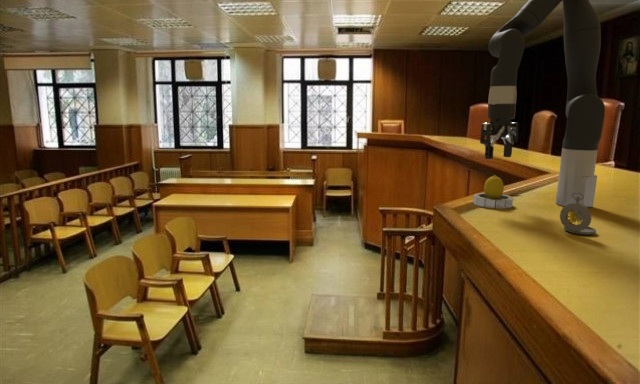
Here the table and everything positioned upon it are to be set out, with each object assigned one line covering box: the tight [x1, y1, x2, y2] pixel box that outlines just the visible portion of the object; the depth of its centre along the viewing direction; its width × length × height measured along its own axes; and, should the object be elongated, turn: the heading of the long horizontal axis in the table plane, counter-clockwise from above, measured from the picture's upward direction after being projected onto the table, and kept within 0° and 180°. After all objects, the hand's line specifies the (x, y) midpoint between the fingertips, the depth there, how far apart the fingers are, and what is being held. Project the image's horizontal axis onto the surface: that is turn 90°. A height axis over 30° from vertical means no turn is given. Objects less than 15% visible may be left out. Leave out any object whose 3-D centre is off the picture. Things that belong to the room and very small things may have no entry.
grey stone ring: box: [472, 192, 514, 210], centre depth 133 cm, size 11×11×2 cm
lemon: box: [483, 175, 505, 199], centre depth 133 cm, size 6×6×8 cm
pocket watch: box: [559, 193, 597, 236], centre depth 103 cm, size 8×8×10 cm
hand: (498, 157), depth 130 cm, fingers open, 8 cm apart
